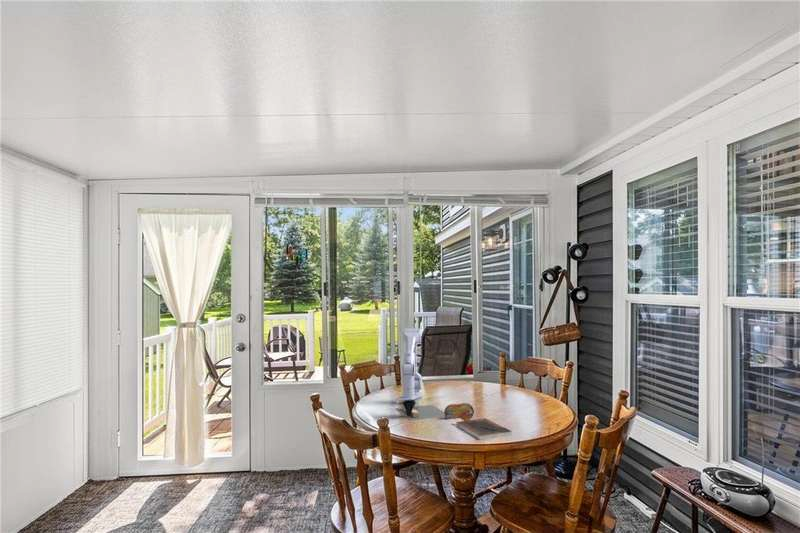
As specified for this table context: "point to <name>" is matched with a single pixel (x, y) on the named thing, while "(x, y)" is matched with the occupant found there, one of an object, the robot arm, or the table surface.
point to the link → (414, 412)
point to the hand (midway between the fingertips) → (408, 415)
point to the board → (423, 412)
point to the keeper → (416, 404)
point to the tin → (459, 411)
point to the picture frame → (483, 428)
